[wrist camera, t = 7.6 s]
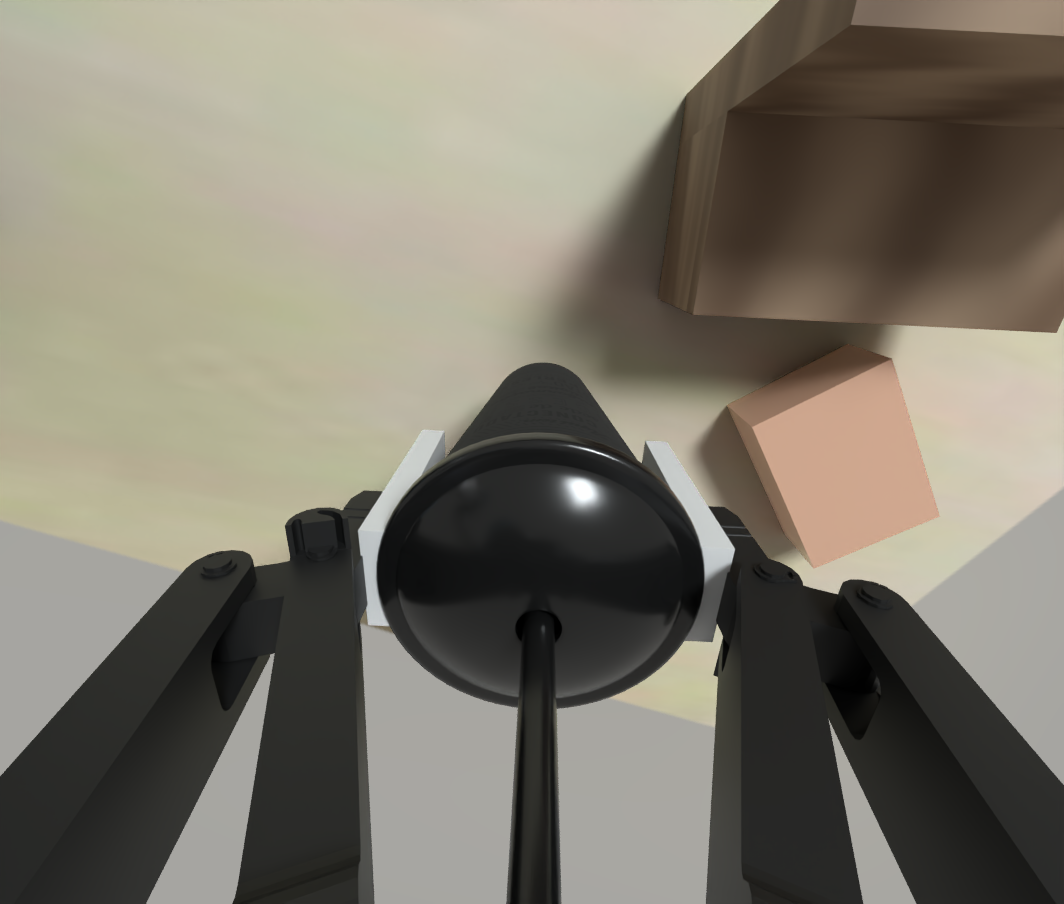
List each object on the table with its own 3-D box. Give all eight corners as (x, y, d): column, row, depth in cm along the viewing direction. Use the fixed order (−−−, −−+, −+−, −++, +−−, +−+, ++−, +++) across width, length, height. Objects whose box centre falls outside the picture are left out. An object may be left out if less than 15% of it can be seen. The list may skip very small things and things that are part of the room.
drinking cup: (565, 296, 22) (675, 572, 3) (649, 430, 24) (980, 1016, 6) (432, 390, 24) (39, 895, 5) (522, 505, 26) (468, 1135, 8)
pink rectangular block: (782, 531, 32) (813, 568, 28) (724, 403, 29) (751, 427, 25) (891, 483, 31) (939, 516, 27) (844, 343, 27) (891, 358, 24)
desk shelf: (657, 298, 26) (773, 352, 13) (686, 94, 23) (881, -103, 10) (938, 312, 26) (1324, 379, 13) (1010, 111, 23) (1629, -62, 10)
